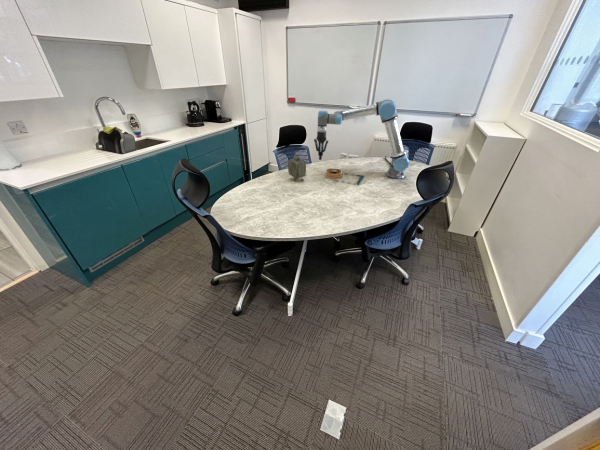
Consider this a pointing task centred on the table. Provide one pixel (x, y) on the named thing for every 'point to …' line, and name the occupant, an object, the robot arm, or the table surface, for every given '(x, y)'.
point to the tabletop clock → (297, 167)
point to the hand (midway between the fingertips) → (320, 159)
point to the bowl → (337, 175)
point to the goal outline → (359, 179)
